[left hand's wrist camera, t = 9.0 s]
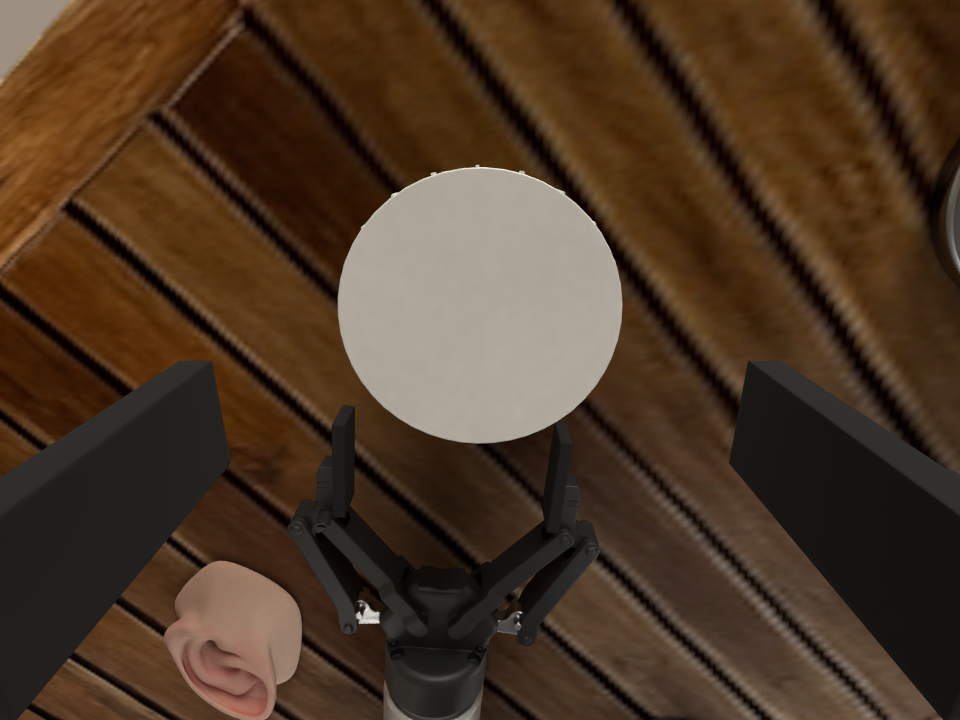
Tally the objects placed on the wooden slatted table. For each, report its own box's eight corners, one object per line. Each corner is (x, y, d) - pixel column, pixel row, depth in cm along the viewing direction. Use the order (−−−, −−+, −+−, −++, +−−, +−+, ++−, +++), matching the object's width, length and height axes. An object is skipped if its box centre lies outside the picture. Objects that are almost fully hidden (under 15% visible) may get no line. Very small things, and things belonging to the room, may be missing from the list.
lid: (391, 449, 24) (385, 469, 23) (307, 206, 21) (292, 209, 19) (630, 396, 23) (641, 413, 22) (588, 132, 20) (597, 129, 18)
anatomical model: (159, 584, 40) (308, 624, 41) (186, 548, 44) (322, 585, 45) (137, 703, 44) (273, 735, 45) (163, 661, 48) (288, 691, 49)
